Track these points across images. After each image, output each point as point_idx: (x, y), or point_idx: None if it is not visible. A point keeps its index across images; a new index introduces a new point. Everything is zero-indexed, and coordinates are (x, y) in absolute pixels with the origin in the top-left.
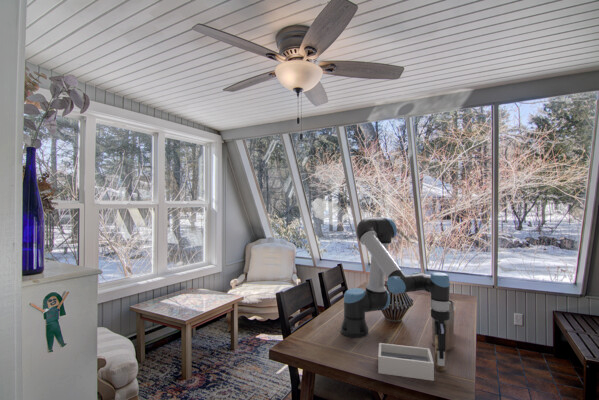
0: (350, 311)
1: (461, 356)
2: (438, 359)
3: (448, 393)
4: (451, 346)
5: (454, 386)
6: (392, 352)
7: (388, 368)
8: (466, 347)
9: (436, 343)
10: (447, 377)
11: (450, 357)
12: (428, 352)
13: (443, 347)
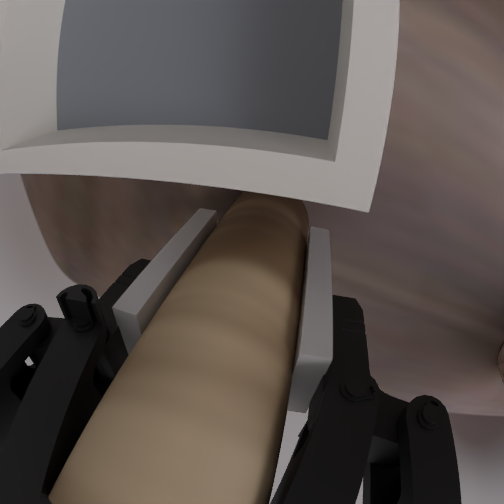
0: None
1: (425, 382)
2: (173, 242)
3: (30, 192)
4: (501, 373)
5: (81, 237)
6: None
7: None
8: (481, 405)
9: (116, 390)
10: (153, 232)
11: (432, 338)
12: (193, 147)
13: (14, 376)
